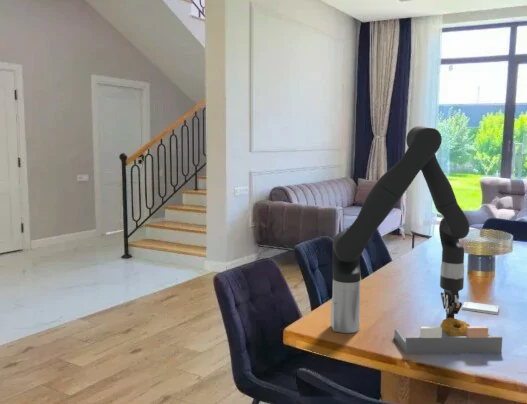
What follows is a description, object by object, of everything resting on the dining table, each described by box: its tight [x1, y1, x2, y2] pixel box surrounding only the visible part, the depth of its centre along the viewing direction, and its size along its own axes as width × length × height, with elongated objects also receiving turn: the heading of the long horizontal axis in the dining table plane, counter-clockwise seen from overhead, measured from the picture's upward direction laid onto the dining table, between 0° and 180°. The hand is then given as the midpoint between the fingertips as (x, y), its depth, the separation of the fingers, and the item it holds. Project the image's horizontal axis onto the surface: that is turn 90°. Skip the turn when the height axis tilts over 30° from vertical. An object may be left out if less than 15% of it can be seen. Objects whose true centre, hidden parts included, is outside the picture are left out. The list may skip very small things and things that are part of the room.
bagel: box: [440, 317, 471, 336], centre depth 172 cm, size 10×11×5 cm
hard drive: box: [461, 301, 500, 316], centre depth 198 cm, size 2×8×12 cm
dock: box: [393, 326, 503, 355], centre depth 163 cm, size 29×13×8 cm, turn 91°
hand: (449, 323), depth 179 cm, fingers closed
